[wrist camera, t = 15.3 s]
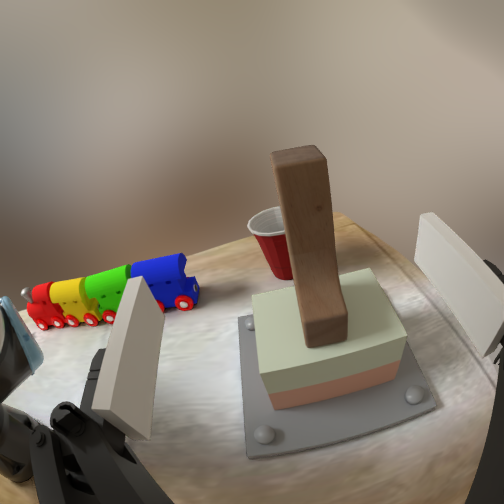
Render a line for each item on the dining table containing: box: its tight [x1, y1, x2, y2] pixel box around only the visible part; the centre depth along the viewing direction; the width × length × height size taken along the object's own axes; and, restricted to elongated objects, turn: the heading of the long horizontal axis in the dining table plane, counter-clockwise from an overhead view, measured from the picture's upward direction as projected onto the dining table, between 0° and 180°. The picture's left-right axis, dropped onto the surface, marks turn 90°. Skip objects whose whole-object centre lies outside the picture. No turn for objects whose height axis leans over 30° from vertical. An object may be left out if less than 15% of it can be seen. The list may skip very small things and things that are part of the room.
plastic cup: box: [248, 206, 293, 280], centre depth 55 cm, size 11×11×12 cm
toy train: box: [21, 253, 200, 330], centre depth 56 cm, size 45×7×11 cm, turn 95°
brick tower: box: [238, 268, 437, 459], centre depth 36 cm, size 24×24×11 cm
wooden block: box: [270, 145, 348, 348], centre depth 28 cm, size 9×4×18 cm, turn 1°
